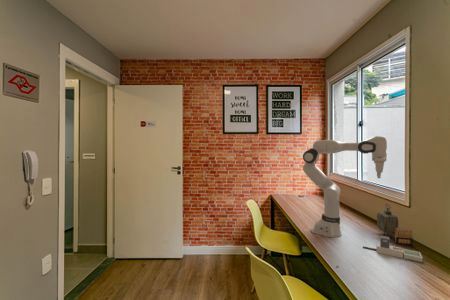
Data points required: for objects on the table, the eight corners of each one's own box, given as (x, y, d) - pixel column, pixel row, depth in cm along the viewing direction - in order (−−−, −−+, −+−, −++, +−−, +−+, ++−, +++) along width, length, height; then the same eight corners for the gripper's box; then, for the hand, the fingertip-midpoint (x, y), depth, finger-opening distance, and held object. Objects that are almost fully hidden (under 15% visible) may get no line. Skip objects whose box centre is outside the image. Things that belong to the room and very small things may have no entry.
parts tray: (404, 258, 146) (404, 254, 146) (402, 252, 154) (402, 248, 154) (422, 262, 142) (422, 258, 142) (419, 256, 149) (419, 252, 149)
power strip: (362, 249, 159) (362, 242, 159) (362, 246, 164) (363, 239, 164) (402, 257, 147) (403, 250, 147) (401, 254, 152) (401, 247, 152)
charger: (380, 251, 154) (380, 238, 154) (380, 248, 158) (380, 235, 158) (389, 253, 151) (389, 239, 151) (388, 250, 155) (389, 237, 155)
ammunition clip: (395, 243, 167) (396, 227, 167) (394, 242, 169) (394, 226, 169) (413, 245, 165) (413, 229, 164) (411, 244, 166) (412, 228, 166)
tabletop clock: (397, 239, 174) (398, 207, 173) (384, 238, 176) (385, 206, 175) (388, 232, 188) (389, 202, 188) (376, 231, 190) (376, 201, 189)
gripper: (373, 157, 179) (373, 175, 179) (374, 159, 161) (373, 178, 162) (383, 157, 175) (383, 175, 176) (385, 159, 158) (384, 179, 158)
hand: (378, 177), depth 169 cm, fingers open, 8 cm apart
